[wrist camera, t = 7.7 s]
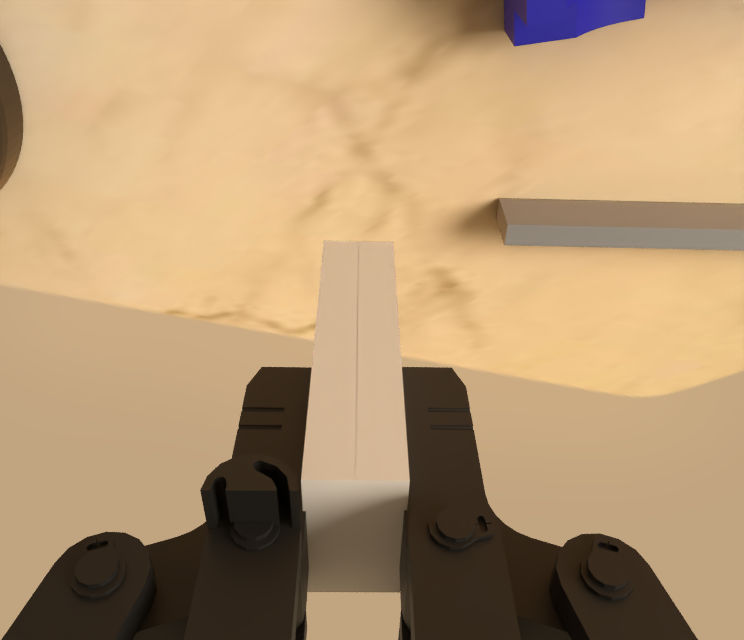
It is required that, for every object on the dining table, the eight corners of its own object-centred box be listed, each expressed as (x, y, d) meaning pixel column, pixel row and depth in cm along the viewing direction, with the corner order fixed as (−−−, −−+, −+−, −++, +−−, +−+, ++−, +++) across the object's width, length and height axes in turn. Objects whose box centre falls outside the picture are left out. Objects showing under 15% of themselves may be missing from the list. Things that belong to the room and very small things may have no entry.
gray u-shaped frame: (496, 217, 38) (504, 244, 35) (553, -168, 27) (571, -168, 25) (852, 226, 38) (885, 253, 35) (1042, -153, 28) (1106, -151, 25)
